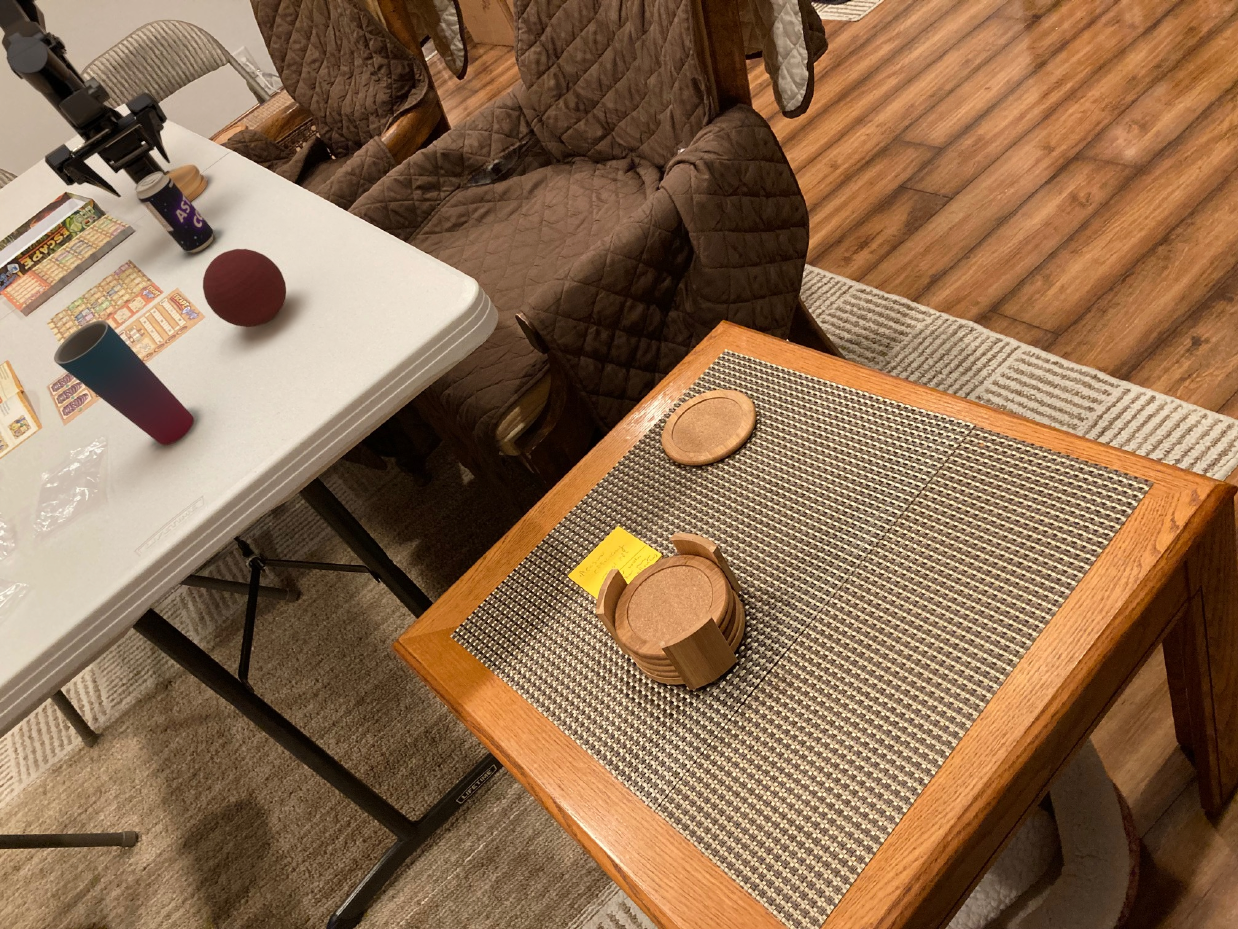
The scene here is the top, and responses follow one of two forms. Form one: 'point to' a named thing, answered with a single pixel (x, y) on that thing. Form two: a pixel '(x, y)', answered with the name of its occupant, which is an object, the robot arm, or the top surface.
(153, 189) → the beverage can
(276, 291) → the decorative ball
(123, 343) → the cup
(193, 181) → the coaster pile
